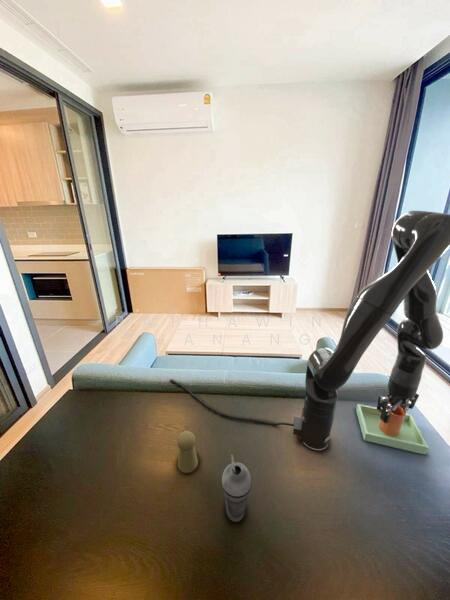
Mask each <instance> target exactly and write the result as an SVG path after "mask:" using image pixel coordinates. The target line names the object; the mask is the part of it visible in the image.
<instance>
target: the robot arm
mask: <svg viewBox="0 0 450 600" xmlns="http://www.w3.org/2000/svg"><path fill="white" fill-rule="evenodd" d="M391 238H392V245H393V248H394V251H395V256H396V259H397V264H396V266H394V267H393V268H392V269H391V270H390V271H388V272H386V273H385V274H384V275H382V276H380V277H379V278H377V279H375V280H373V281H372V282H369V284H367V285H365V286H364V287H363V288H362V289H361V290H360V291H359V292H358V294H357V295H356V296H355V298H354V299H353V301H352V303H351V304H350V305H349V307H348V309H347V311H346V313H345V316H344V321H343V324H342V329H341V332H340V333H341V334H340V338H339V340H338V342H337V345H336V346H335V348H334V350H333V349H331V348H328V347H321V348H317V349H315V350H314V351H312V353H311V354H309V357H308V359H307V364H306V370H305V371H306V372H305V379H304V382H305V383H304V384H305V394H304V402H303V407H302V410H301V416H300V417H298V416H294V417H293V423H290V422H284V421H283V422H282V421H279V422H271V421H266V420H260V419H256V418H250V417H241V416H234V415H229V414H227V413H223V412H221V411H219V410H217V409H215V408H213V407H212V406H210V405H209V404H207V403H205V402H204V401H203V400H202V399H200V398H199V397H198V396H196V394H194V393H193V392H192V391H191V390H190V389H189V388H187V387H186V386H185V385H183V384H181V383H179V382H178V381H175V380H174V379H170V382H171V383H173V384H175V385H177V386H179V387H181V388H182V389H184V390H185V391H187V392H188V393H189V394H190V395H191V396H192V397H193V398H195V399H196V400H197V401H198V402H200V404H202V405H203V406H205V407H206V408H208V409H209V410H211V411H213V412H215V413H217V414H218V415H221V416H223V417H225V418H230V419H235V420H241V421H250V422H256V423H261V424H265V425H271V426H280V425H282V426H290V427H293V429H292V431H293V432H292V435H294V436H298V437H299V438H298V442H299V443H300V444H302V445H304V446H305V447H306V448H307V449H308V450H311V451H315V452H321V451H322V452H323V451H325V450H326V449H327V448H328V447H329V444H330V439H331V437H332V434H331V433H332V429H333V423H334V418H335V414H336V409H337V404H338V399H339V393H338V390H339V389H341V388H342V387H343V386H344V385H345V384H346V383H347V382H348V380H349V379H350V377H352V374H353V371H354V370H355V369H356V367H357V365H358V363H359V362H360V360H361V358H362V357H363V355H364V354H365V352H366V351H367V349H368V348H369V347H370V345H371V344H372V342H373V341H374V339H375V338H376V337H377V336H378V335H379V333H380V331H382V329H383V328H384V327H385V326H386V324H387V323H388V322H389V321H390V319H391V317H392V316H393V315H394V313H395V312H396V311H397V309H398V307H399V306H400V305H401V303H402V302H403V313H404V317H405V319H403V320H401V322H400V323H398V326H397V329H396V342H397V343H396V344H397V355H396V357H395V361H394V364H393V365H392V368H391V372H390V375H389V377H388V381H387V385H386V386H387V390H388V393H386V396H382V395H379V396H378V397H377V404H376V405H377V406H376V408H377V410H378V411H380V412H381V416H380V419H381V420H382V421H383V422H384V423H387V422H388V419H389V416H390V413H391V412H392V411H395V410H396V408H397V407H398V406H400V407H402V408H403V409H404V410H405V412H406V413H407V412H408V411H409V410H413V409H414V407H415V405H416V403H417V401H418V399H419V397H420V394H419V393H417V391H418V389H419V386H420V383H421V381H422V374H423V371H424V368H425V365H426V362H427V356H426V354H425V353H424V352H423V351H421V349H423V350H425V351H426V350H427V351H430V350H431V351H433V350H435V349H437V348H438V347H439V346H441V344H442V342H443V340H444V330H443V326H442V324H441V322H440V319H439V316H438V313H437V301H438V296H437V295H438V294H437V289H436V286H435V283H434V281H433V280H432V277H431V275H430V273H429V270H430V269H431V267H433V266H434V265H435V263H436V262H437V261H438V260H439V259H440V258H441V257H442V256H443V254H445V253H446V251H447V250H448V249H449V247H450V213H443V212H435V211H428V210H410V211H406V212H404V213H403V214H402V215H400V216H399V217H398V219H396V221H395V222H394V225H393V227H392V231H391ZM418 347H419V348H418ZM420 348H421V349H420ZM389 403H390V404H391V405H393V407H392V406H391V405H390V404H389ZM387 407H388V408H389V410H388V411H387Z"/></svg>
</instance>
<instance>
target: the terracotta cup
mask: <svg viewBox="0 0 450 600" xmlns="http://www.w3.org/2000/svg"><path fill="white" fill-rule="evenodd" d="M389 404H390V403H389ZM390 405H391V404H390ZM391 406H392V407H393V405H391ZM388 410H389V408H388V407H387V411H388ZM406 414H407V411H406V412H405V410H404V409H403V408H402V407H400V406H398V407H397V408H396V410H395V411H392V412H391V413H390V416H389V419H388V422H387V423H384V422H383V421H382V420H381V419H380V423H379V428H380V430H381V431H382V432H383V433H385V434H386V435H389V436H392V437H396V436H398V434H399V432H400V429H401V426H402V423H403V420H404V418H405V415H406Z"/></svg>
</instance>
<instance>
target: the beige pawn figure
mask: <svg viewBox="0 0 450 600" xmlns="http://www.w3.org/2000/svg"><path fill="white" fill-rule="evenodd" d="M176 442H177V443H176V444H177V447H178V449H179V450H178V457H177V467H178V469H179V471H180V472H181V473H184V474H189V473H192V472H194V471H195V470H196V468H197V467H198V464H199V459H198V456H197V451H196V447H195V445H196V436H195V435H194V433H193V432H191V431H189V430H185V431H182V432H181V433H180V434H179V435H178V437H177V440H176Z"/></svg>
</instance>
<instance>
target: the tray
mask: <svg viewBox="0 0 450 600" xmlns="http://www.w3.org/2000/svg"><path fill="white" fill-rule="evenodd" d="M355 412H356V416H357V419H358V423H359V426H360V431H361V434H362V438H363V441H364V442H365V441H366V442H369V443H370V442H371V443H373V444H377V445H383V446H386V447H390V448H391V447H392V448H395V449H400V450H403V451H408V452H412V453H417V454H421V455H427V453H428V450H429V446H428V444H427V442H426V440H425V438H424V436H423V435H422V433H421V431H420V428H419V426H418V425H417V423H416V421H415V419H414V417H413V415H412V414H411V413H406V415H405V418H404V420H403V423H402V426H401V429H400V432H399V434H398V436H396V437H392V436H389V435H386V434H385V433H383V432H382V431H381V430H380V428H379V423H380V416H381V412H380V411H378V410H377V406H376V407H374V406H371V405H366V404H361V403H357V406H356V409H355Z"/></svg>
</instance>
